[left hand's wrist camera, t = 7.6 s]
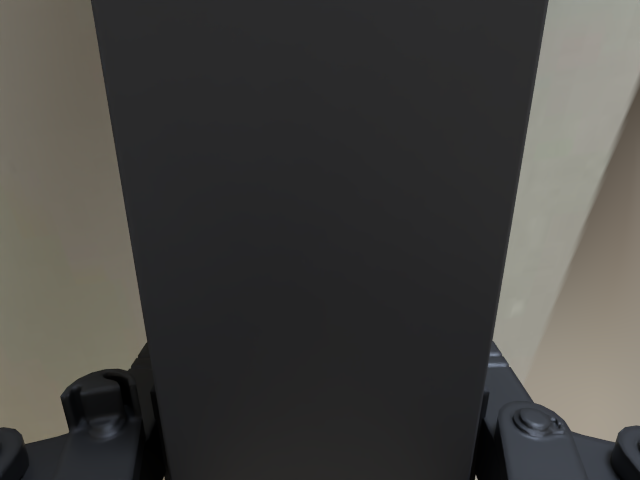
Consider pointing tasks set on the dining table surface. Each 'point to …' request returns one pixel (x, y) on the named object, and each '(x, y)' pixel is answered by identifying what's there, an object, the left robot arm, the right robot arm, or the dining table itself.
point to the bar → (319, 223)
